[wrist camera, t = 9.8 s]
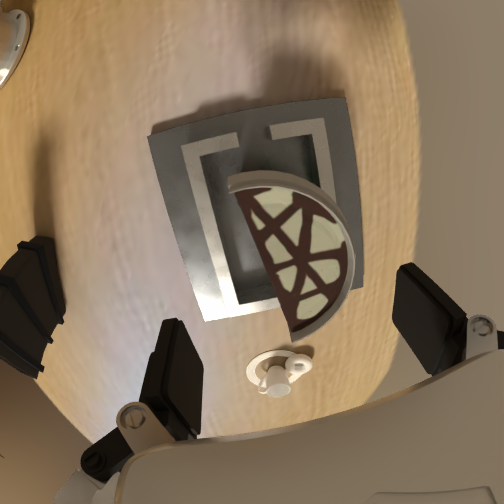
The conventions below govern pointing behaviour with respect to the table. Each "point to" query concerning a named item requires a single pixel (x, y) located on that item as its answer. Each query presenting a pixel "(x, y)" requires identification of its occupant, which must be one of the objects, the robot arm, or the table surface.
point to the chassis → (225, 205)
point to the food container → (298, 245)
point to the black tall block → (29, 305)
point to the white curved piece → (279, 372)
